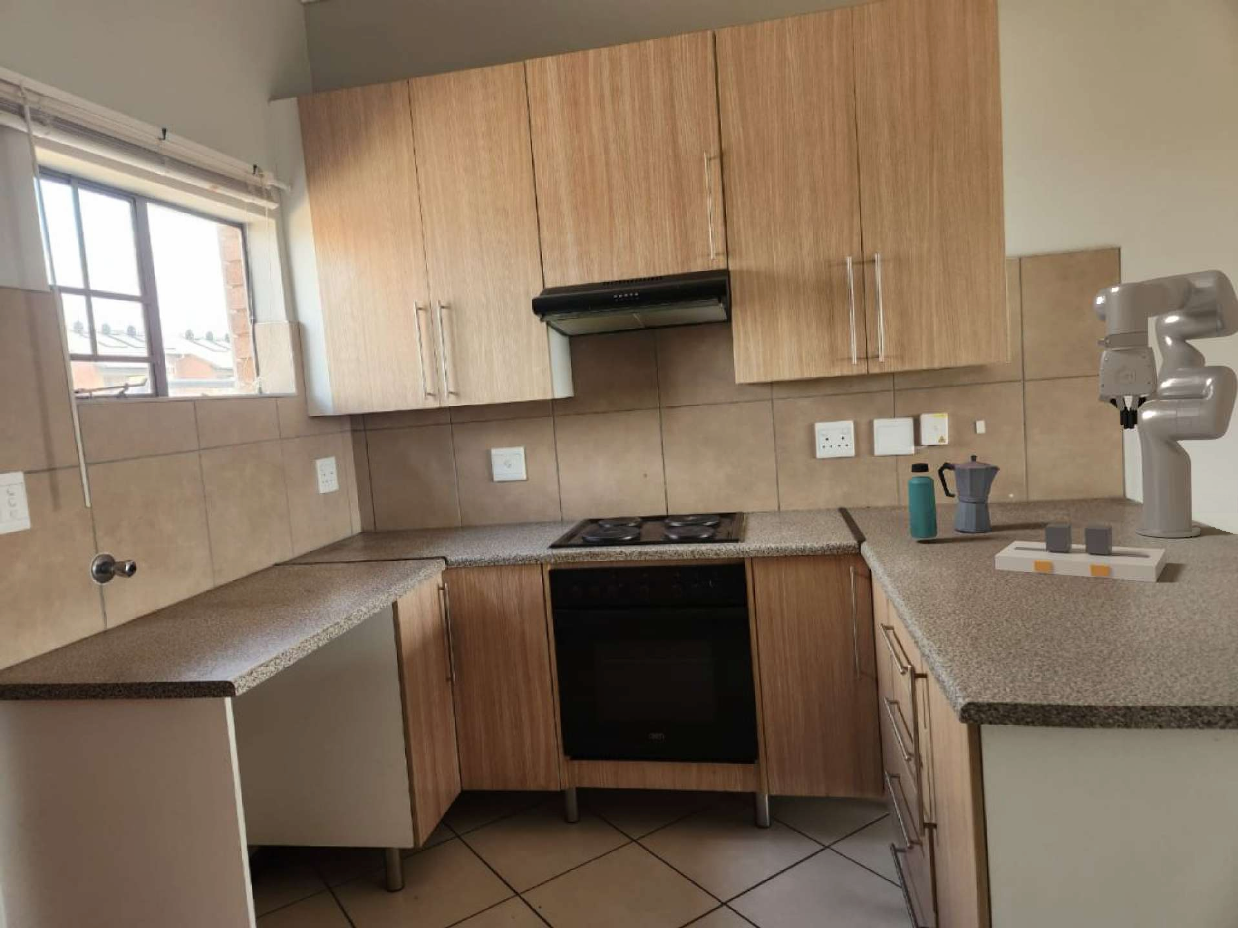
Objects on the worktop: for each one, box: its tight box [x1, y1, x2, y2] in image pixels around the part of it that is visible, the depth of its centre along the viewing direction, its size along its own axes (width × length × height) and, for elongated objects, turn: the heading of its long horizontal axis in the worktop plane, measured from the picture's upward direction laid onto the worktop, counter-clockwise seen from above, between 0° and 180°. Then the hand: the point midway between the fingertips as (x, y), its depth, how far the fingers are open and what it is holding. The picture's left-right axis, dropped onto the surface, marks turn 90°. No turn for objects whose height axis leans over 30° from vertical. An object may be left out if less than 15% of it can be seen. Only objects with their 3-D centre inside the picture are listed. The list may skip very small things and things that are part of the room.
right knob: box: [1084, 524, 1113, 554], centre depth 158 cm, size 4×4×5 cm
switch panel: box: [994, 540, 1167, 583], centre depth 161 cm, size 16×28×3 cm, turn 49°
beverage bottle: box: [907, 462, 939, 539], centre depth 195 cm, size 6×7×20 cm
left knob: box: [1044, 523, 1073, 552], centre depth 163 cm, size 4×4×5 cm
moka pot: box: [937, 454, 1002, 534], centre depth 205 cm, size 10×15×20 cm, turn 58°
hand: (1129, 428), depth 167 cm, fingers closed
